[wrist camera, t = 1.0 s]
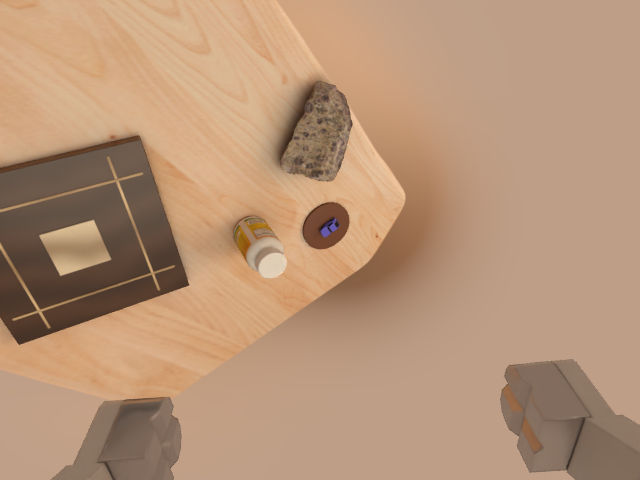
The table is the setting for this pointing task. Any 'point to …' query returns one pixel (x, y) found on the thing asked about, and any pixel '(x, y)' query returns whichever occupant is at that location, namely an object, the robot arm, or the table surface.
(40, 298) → the board
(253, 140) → the table surface
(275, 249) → the supplement bottle
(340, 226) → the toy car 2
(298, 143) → the rock
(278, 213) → the table surface
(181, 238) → the table surface
